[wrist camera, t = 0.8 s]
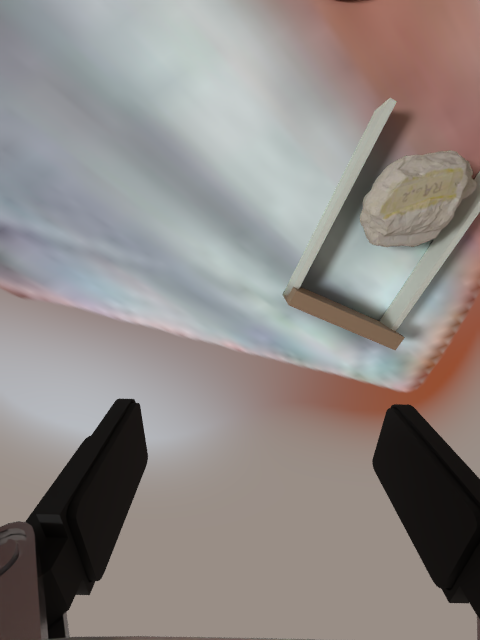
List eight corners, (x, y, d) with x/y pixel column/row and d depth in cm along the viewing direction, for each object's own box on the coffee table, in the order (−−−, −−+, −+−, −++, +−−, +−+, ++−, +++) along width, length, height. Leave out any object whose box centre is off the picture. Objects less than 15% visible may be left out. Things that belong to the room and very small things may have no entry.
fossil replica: (456, 208, 32) (417, 138, 30) (529, 192, 24) (482, 95, 22) (374, 269, 34) (332, 206, 32) (416, 273, 26) (364, 189, 24)
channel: (375, 110, 28) (401, 87, 23) (485, 173, 30) (530, 163, 26) (282, 294, 36) (288, 305, 31) (376, 334, 38) (395, 350, 33)
